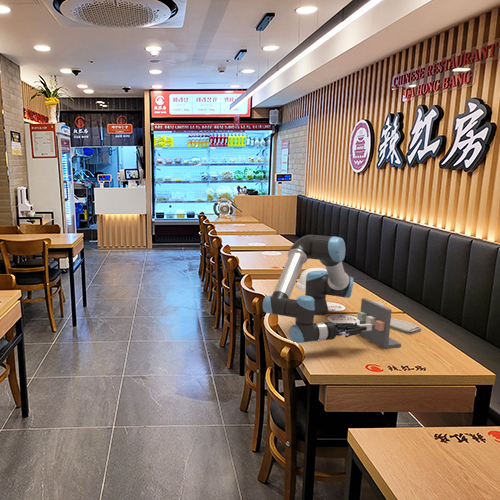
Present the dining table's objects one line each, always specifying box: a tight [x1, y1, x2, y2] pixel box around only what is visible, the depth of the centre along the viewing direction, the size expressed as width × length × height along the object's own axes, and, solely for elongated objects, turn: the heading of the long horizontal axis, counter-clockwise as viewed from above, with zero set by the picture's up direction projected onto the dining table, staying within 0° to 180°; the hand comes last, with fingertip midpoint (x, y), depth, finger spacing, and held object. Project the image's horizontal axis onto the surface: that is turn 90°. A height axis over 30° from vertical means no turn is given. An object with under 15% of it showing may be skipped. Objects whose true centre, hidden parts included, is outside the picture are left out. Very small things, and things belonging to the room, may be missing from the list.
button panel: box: [359, 298, 402, 350], centre depth 207 cm, size 20×9×18 cm, turn 20°
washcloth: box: [390, 317, 422, 335], centre depth 227 cm, size 12×18×3 cm, turn 39°
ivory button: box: [366, 316, 376, 326], centre depth 205 cm, size 4×4×4 cm
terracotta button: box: [375, 320, 385, 331], centre depth 198 cm, size 4×4×4 cm
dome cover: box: [296, 267, 327, 292], centre depth 306 cm, size 32×30×14 cm
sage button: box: [356, 311, 367, 322], centre depth 211 cm, size 4×4×4 cm
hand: (370, 326), depth 196 cm, fingers closed
